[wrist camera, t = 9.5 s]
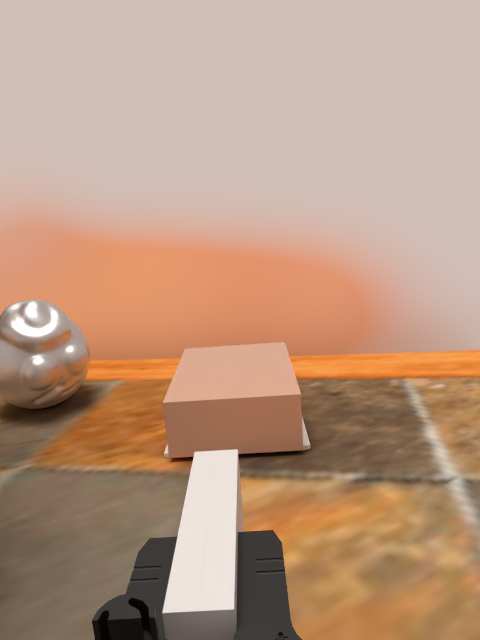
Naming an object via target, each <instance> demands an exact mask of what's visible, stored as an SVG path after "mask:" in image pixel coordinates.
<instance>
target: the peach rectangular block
mask: <svg viewBox="0 0 480 640" xmlns="http://www.w3.org/2000/svg"><path fill="white" fill-rule="evenodd" d="M163 409H164V418H165V427H166V435H167V444H168V453H169V458H178V457H194V453H195V452H201V451H217V450H234V449H238V454H247V453H264V452H281V451H298V450H303V429H302V404H301V392H300V389H299V386H298V383H297V380H296V376H295V373H294V370H293V367H292V364H291V360H290V357H289V354H288V351H287V348H286V344H285V342H279V343H264V344H247V345H233V346H216V347H200V348H186V349H185V350H184V353H183V355H182V358H181V360H180V362H179V365H178V367H177V370H176V372H175V374H174V377H173V379H172V382H171V384H170V386H169V389H168V391H167V394H166V396H165V398H164V401H163Z"/></svg>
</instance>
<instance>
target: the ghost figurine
mask: <svg viewBox="0 0 480 640" xmlns="http://www.w3.org/2000/svg"><path fill="white" fill-rule="evenodd" d="M89 363H90V353H89V347H88V343H87V341H86V338H85V337H84V335H83V333H82V331H81V330H80V329H79V328H78V327H77V325H76V324H74V323H73V322H72V321H71V320H69V319H68V317H67V316H66V315H65V314H64V313H63V312H62V311H61V310H60V309H59V308H58V307H56V306H55V305H54V304H52V303H50V302H47V301H43V300H27V301H20V302H17V303H14V304H12V305H10V306H8V307H7V308H6V309H5V310H4V311H3V313H2V314H1V316H0V397H1V398H2V399H3V400H5V401H7V402H8V403H10V404H13V405H15V406H18V407H22V408H29V409H39V408H46V407H50V406H53V405H56V404H58V403H61V402H62V401H64V400H66V399H67V398H69V397H70V396H71V395H72V394H74V393H75V392H76V391H77V389H78V388H79V387H80V386H81V384H82V383H83V381H84V379H85V377H86V375H87V372H88V369H89Z"/></svg>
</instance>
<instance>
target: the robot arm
mask: <svg viewBox="0 0 480 640" xmlns="http://www.w3.org/2000/svg"><path fill="white" fill-rule="evenodd" d="M92 624H93V630H94V635H95V640H302V639H301V638H300V637H299V636H298V635H297V634H296V632H295V630H294V628H293V627H292V623H291V619H290V611H289V602H288V593H287V585H286V576H285V567H284V559H283V550H282V542H281V541H280V540H279V538H278V537H277V535H276V534H275V533H274V531H273V530H268V531H250V532H243V509H242V497H241V484H240V471H239V458H238V449H234V450H217V451H201V452H195V453H194V458H193V463H192V468H191V473H190V478H189V483H188V488H187V493H186V498H185V503H184V507H183V512H182V517H181V522H180V527H179V532H178V537H165V538H150V539H149V540H148V541H147V542H146V544H145V545H144V546H143V547H142V548H141V550H140V551H139V552H138V555H137V559H136V562H135V565H134V570H133V572H132V575H131V578H130V583H129V585H128V588H127V591H126V594H125V595H120V596H117V597H115V598H114V599H112V600H110V601H108V602H107V603H105V604H104V605H103V606H102V607H101V608H100V609H99V610H98V611H97V613H96V615H95V616H94V618H93V620H92Z"/></svg>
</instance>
